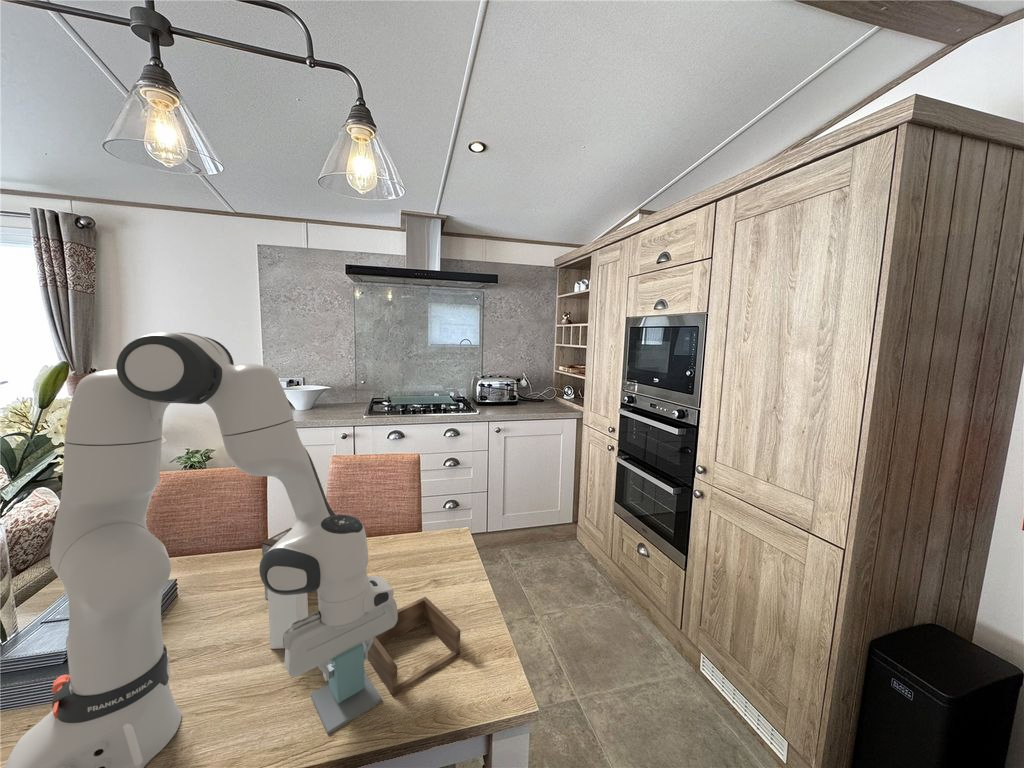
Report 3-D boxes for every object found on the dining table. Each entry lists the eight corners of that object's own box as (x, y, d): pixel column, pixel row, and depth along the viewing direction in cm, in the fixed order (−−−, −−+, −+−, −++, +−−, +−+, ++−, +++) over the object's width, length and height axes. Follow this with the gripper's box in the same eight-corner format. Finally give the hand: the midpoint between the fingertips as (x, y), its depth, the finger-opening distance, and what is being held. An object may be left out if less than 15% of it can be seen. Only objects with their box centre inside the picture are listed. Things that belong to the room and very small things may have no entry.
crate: (392, 696, 78) (392, 668, 77) (362, 651, 89) (361, 626, 88) (460, 654, 89) (460, 629, 88) (425, 618, 100) (425, 596, 99)
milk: (270, 649, 89) (264, 556, 86) (282, 629, 95) (277, 542, 92) (298, 647, 90) (294, 555, 87) (309, 628, 96) (305, 541, 93)
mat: (327, 734, 70) (327, 731, 70) (310, 696, 78) (310, 693, 78) (381, 701, 77) (381, 698, 77) (361, 668, 84) (361, 666, 84)
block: (338, 703, 74) (336, 659, 73) (328, 685, 78) (327, 643, 76) (364, 687, 77) (363, 645, 76) (354, 671, 81) (353, 631, 80)
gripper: (287, 638, 66) (291, 712, 68) (401, 587, 80) (401, 650, 81) (277, 618, 70) (281, 688, 72) (386, 573, 84) (387, 633, 86)
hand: (346, 667), depth 77 cm, fingers closed on block, 5 cm apart
